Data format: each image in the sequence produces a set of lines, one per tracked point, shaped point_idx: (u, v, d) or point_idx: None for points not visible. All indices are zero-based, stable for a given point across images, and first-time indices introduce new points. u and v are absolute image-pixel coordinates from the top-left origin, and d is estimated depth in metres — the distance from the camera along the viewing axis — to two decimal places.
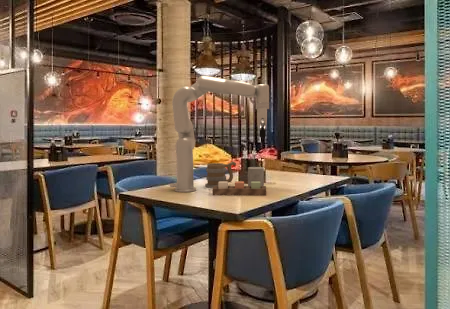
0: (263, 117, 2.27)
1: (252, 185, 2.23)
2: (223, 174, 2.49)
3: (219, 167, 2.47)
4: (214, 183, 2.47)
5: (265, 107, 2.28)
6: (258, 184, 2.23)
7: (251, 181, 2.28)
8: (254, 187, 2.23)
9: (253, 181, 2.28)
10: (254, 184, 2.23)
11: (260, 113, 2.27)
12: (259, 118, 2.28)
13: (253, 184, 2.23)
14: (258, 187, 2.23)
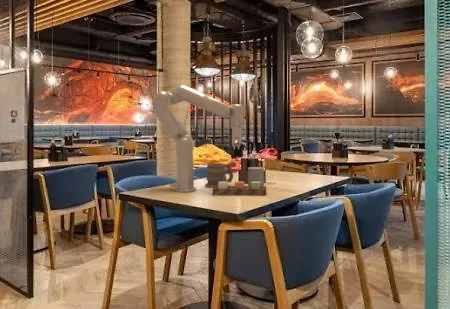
0: (237, 137, 2.31)
1: (252, 185, 2.23)
2: (223, 174, 2.49)
3: (219, 167, 2.47)
4: (214, 183, 2.47)
5: (239, 127, 2.32)
6: (258, 184, 2.23)
7: (251, 181, 2.28)
8: (254, 187, 2.23)
9: (253, 181, 2.28)
10: (254, 184, 2.23)
11: (234, 133, 2.31)
12: (233, 138, 2.32)
13: (253, 184, 2.23)
14: (258, 187, 2.23)
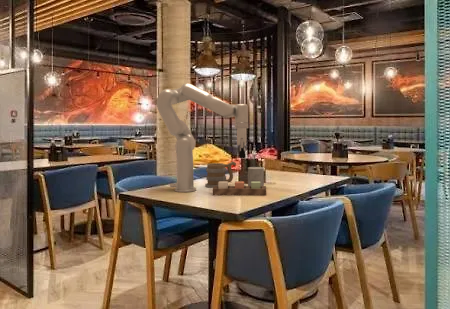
0: (242, 137, 2.28)
1: (252, 185, 2.23)
2: (223, 174, 2.49)
3: (219, 167, 2.47)
4: (214, 183, 2.47)
5: (244, 127, 2.29)
6: (258, 184, 2.23)
7: (251, 181, 2.28)
8: (254, 187, 2.23)
9: (253, 181, 2.28)
10: (254, 184, 2.23)
11: (239, 133, 2.28)
12: (238, 138, 2.28)
13: (253, 184, 2.23)
14: (258, 187, 2.23)
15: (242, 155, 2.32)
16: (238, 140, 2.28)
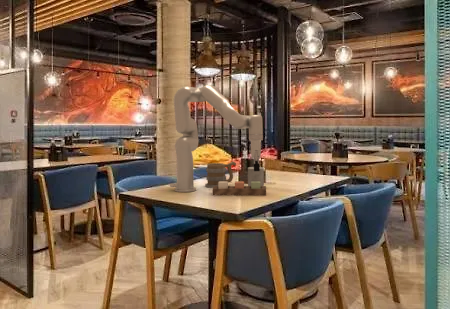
0: (257, 149, 2.19)
1: (252, 185, 2.23)
2: (223, 174, 2.49)
3: (219, 167, 2.47)
4: (214, 183, 2.47)
5: (259, 139, 2.20)
6: (258, 184, 2.23)
7: (251, 181, 2.28)
8: (254, 187, 2.23)
9: (253, 181, 2.28)
10: (254, 184, 2.23)
11: (253, 145, 2.19)
12: (253, 150, 2.19)
13: (253, 184, 2.23)
14: (258, 187, 2.23)
15: (256, 168, 2.23)
16: (252, 153, 2.19)
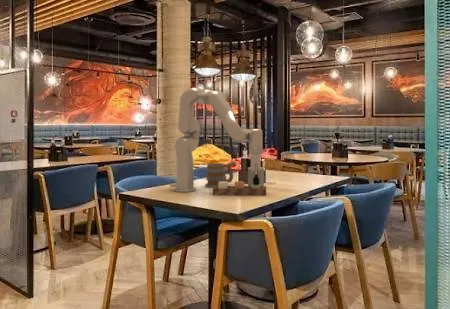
0: (256, 163, 2.20)
1: (252, 188, 2.24)
2: (223, 174, 2.49)
3: (219, 167, 2.47)
4: (214, 183, 2.47)
5: (258, 153, 2.21)
6: (258, 187, 2.23)
7: (251, 184, 2.28)
8: None
9: None
10: (254, 187, 2.23)
11: (253, 159, 2.20)
12: (252, 164, 2.20)
13: (253, 187, 2.23)
14: None
15: (256, 182, 2.24)
16: (252, 167, 2.20)
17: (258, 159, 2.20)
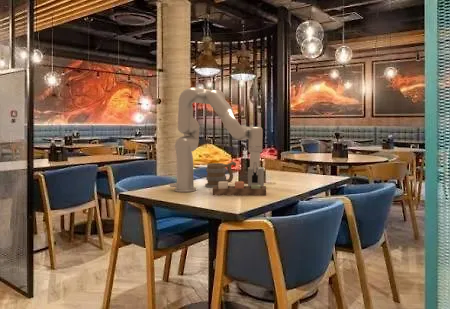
0: (256, 161, 2.20)
1: (252, 188, 2.24)
2: (223, 174, 2.49)
3: (219, 167, 2.47)
4: (214, 183, 2.47)
5: (258, 151, 2.21)
6: (258, 187, 2.23)
7: None
8: None
9: None
10: (254, 187, 2.23)
11: (253, 157, 2.20)
12: (251, 162, 2.20)
13: (253, 187, 2.23)
14: None
15: (254, 180, 2.24)
16: (251, 164, 2.20)
17: (257, 157, 2.20)
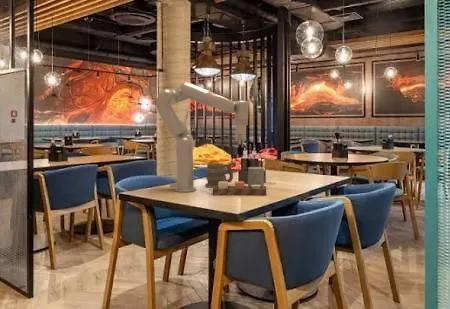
0: (241, 133, 2.30)
1: (252, 188, 2.24)
2: (223, 174, 2.49)
3: (219, 167, 2.47)
4: (214, 183, 2.47)
5: (243, 123, 2.31)
6: (258, 187, 2.23)
7: None
8: None
9: None
10: (254, 187, 2.23)
11: (238, 129, 2.30)
12: (237, 134, 2.30)
13: (253, 187, 2.23)
14: None
15: (240, 151, 2.35)
16: (236, 136, 2.31)
17: (242, 129, 2.30)
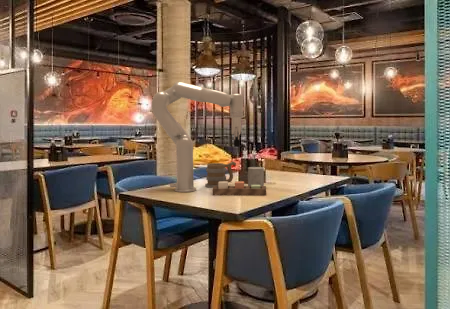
0: (237, 126, 2.34)
1: (252, 188, 2.24)
2: (223, 174, 2.49)
3: (219, 167, 2.47)
4: (214, 183, 2.47)
5: (239, 116, 2.35)
6: (258, 187, 2.23)
7: None
8: None
9: None
10: (254, 187, 2.23)
11: (234, 122, 2.34)
12: (233, 127, 2.34)
13: (253, 187, 2.23)
14: None
15: (236, 144, 2.38)
16: (232, 129, 2.34)
17: (238, 122, 2.34)
